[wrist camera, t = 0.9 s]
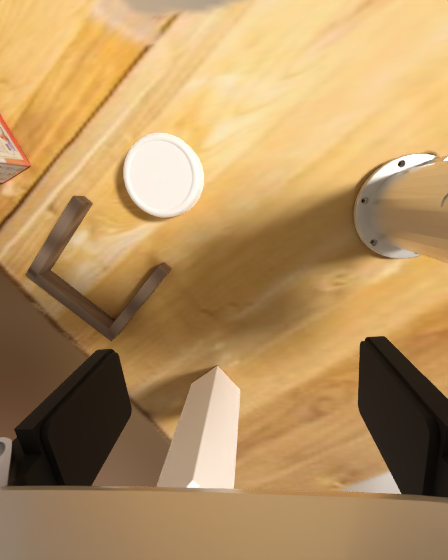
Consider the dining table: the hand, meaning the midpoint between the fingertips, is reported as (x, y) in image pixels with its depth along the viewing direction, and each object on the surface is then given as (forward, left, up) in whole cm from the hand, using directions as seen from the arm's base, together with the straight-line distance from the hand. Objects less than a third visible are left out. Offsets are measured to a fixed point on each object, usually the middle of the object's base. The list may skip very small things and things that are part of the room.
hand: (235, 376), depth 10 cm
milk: (+21, +11, -29) cm, 37 cm away
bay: (+17, -15, -29) cm, 36 cm away
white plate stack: (0, -15, -29) cm, 33 cm away
